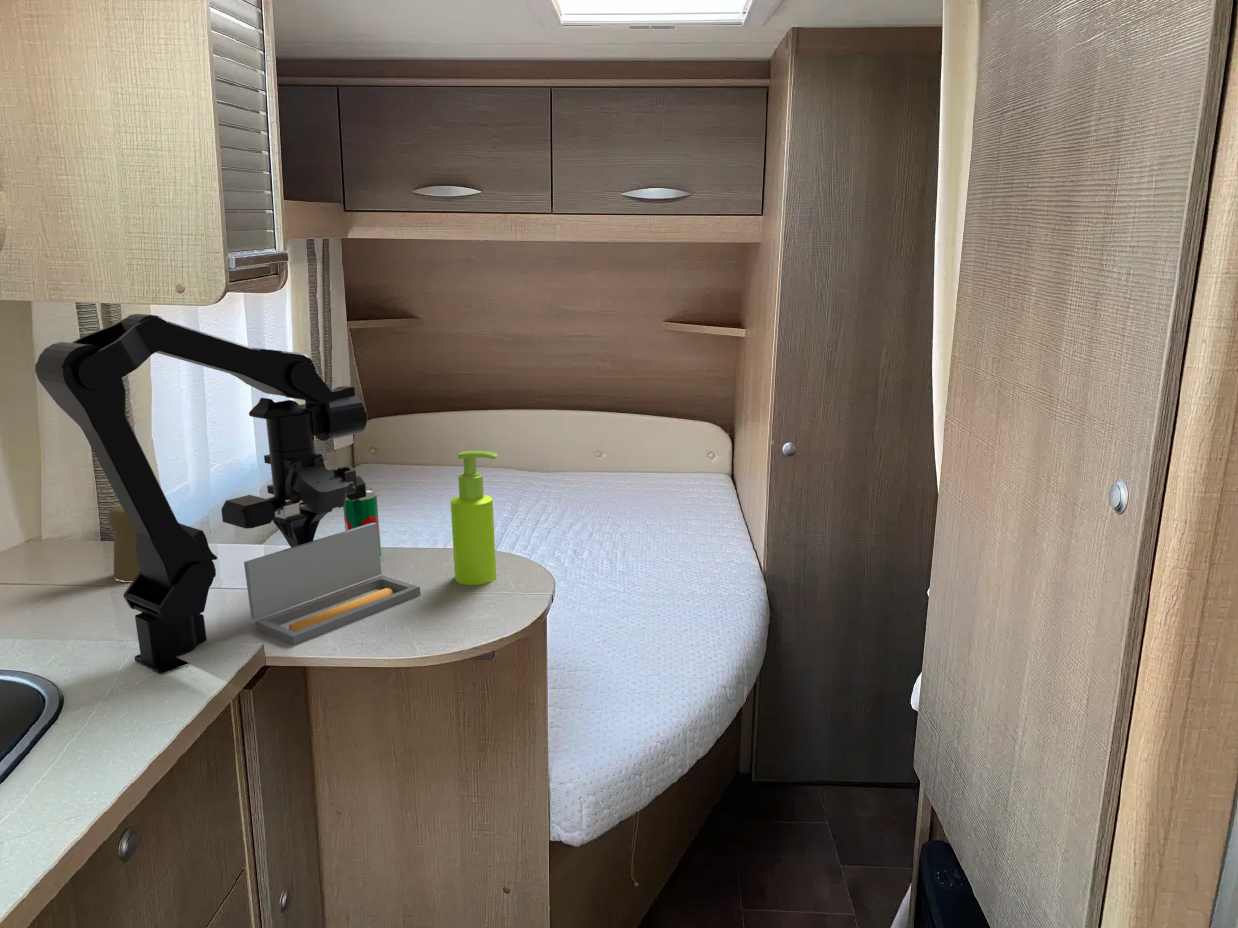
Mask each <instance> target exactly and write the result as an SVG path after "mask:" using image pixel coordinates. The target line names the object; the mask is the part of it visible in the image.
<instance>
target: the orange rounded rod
mask: <svg viewBox="0 0 1238 928" xmlns="http://www.w3.org/2000/svg"><path fill="white" fill-rule="evenodd" d="M392 594H394V592H393V590H391V589H389V588H385V587H384V588H382V589H380V590H378V591H374V592H372V593H369V594H367V595H364V596H361V597H359V598H356V599H354V600H351V601H349V602H345V603H343V604H341V605H337V606H335V607H333V608H330V609H327V610H325V611H322V612H320V613H317V614H313V615H311V616H309V617H306V618H304V619H301V620H298V621H296V622H292V623H290V624H289V625H288V629H290V630H292V631H295V632H297V631H299V630H302V629H304V628H307V627H309V626H312V625H315V624H317V623H320V622H322V621H325V620H327V619H330V618H333V617H335V616H338V615H340V614H343V613H345V612H348V611H351V610H353V609H356V608H358V607H361V606H363V605H366V604H369V603H371V602H374V601H376V600H379V599H381V598H384V597H387V596H389V595H392Z"/></svg>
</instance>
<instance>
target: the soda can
mask: <svg viewBox="0 0 1238 928" xmlns="http://www.w3.org/2000/svg"><path fill="white" fill-rule="evenodd" d="M366 493H367V495H366V497H363V498H359V499H355V500H352V501H350V500H348V499H346V501H345V506H343V507H342V509H343V518H344V520H343V521H344V531H347V530H350V529H353V528H357V527H360V526H363V525H366V524H370V523H377V533H378V543H379V552H380V558H381V557H382V548H381V547H382V546H381V544H382V543H381V535H380V534H381V533H380V532H381V531H380V519H379V508H378V507H379V506H378V505H379V504H378V496H377V494H376V492H375V489H374V487H371V486H366Z"/></svg>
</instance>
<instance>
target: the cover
mask: <svg viewBox="0 0 1238 928" xmlns="http://www.w3.org/2000/svg"><path fill="white" fill-rule="evenodd" d="M243 564H244V565H243V566H244V567H243V568H244V573H245V580H246V588H247V595H248V603H249V609H250V611H249V612H250V617H251V618H250V619H252V620H255V621H257V620H260V619H263V618H266V617H268V616H271V615H274V614H277V613H279V612H280V611H281V612H282V611H285V610H288V609H290V608H291V607H292V608H293V607H296V606H299V605H301V604H304V603H307V602H310V601H313V599H314V600H315V599H318V598H321V597H324V596H326V595H329V594H332V593H335V592H337V591H340V590H343V589H346V588H348V587H351V586H354V585H357V584H359V583H362V582H365V581H368V580H370V579H373V578H376V577H379V576H381V575H382V565H381V557H380V552H379V543H378V533H377V523H370V524H366V525H363V526H360V527H357V528H353V529H350V530H347V531H345V530H344V531H340V532H338V533H334V534H330V535H327V536H325V537H322V538H318V539H315V540H314V539H313V541H311V542H308V543H304V544H301V545H298V546H295V547H289V548H285V549H281V550H279V551H276V552H273V553H270V554H266V555H262V556H260V557H256V558H252V559H250V560H246V561H244V562H243Z"/></svg>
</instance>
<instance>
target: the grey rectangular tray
mask: <svg viewBox="0 0 1238 928" xmlns="http://www.w3.org/2000/svg"><path fill="white" fill-rule="evenodd" d="M379 588H384V589H385V588H389V589H391V590H392V591H395V592H393V594H392V595H389V596H387V597H384V598H381V599H379V600H376V601H374V602H371V603H369V604H366V605H363V606H361V607H358V608H356V609H353V610H351V611H348V612H345V613H343V614H340V615H338V616H335V617H333V618H330V619H327V620H325V621H322V622H320V623H317V624H315V625H312V626H309V627H307V628H304V629H302V630H299V631H297V632H295V631H292V630H290V629H289V628H287V627H284V626H282V625H283V624H286V623H289V622H291V621H293V620H296V619H299V618H302V617H304V616H306V615H310V614H312V613H315V612H318V611H320V610H323V609H326V608H329V607H330V606H333V605H337V604H338V603H341V602H345V601H346V600H349V599H352V598H354V597H357V596H360V595H363V594H365V593H368V592H370V591H371V592H372V591H373V590H376V589H379ZM418 596H421V586H418V585H415V584H411V583H409V582H408V583H407V582H405V581H402V580H399V579H396V578H395V579H394V578H391V577H388V576H386V575H382V574H380V575H378V576H375V577H372V578H369V579H367V580H364V581H361V582H358V583H356V584H353V585H350V586H347V587H345V588H342V589H339V590H336V591H334V592H331V593H328V594H326V595H323V596H320V597H317V598H315V599H314V600H313V599H312V600H309V601H306V602H304V603H301V604H298V605H295V606H293V607H292V608H291V607H290V608H287V609H284V610H282V611H281V612H280V611H279V612H276V613H273V614H271V615H268V616H265V617H262V618H260V619H257V620H255V621H254V623H255V630H256V631H258V632H260V633H263V634H265V635H267V636H270V637H272V638H275V639H278V640H280V641H281V642H282V641H283V642H285V643H287V644H290V645H292V646H296V645H299V644H302V643H304V642H307V641H309V640H311V639H315V638H317V637H319V636H321V635H323V634H326V633H329V632H332V631H334V630H336V629H339V628H341V627H344V626H346V625H349V624H351V623H353V622H356V621H358V620H361V619H364V618H366V617H369V616H372V615H373V614H374V615H375V614H376V613H378V612H381V611H383V610H387V609H389V608H391V607H393V606H396V605H398V604H401V603H403V602H406V601H409V600H411V599H413V598H416V597H418Z"/></svg>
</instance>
